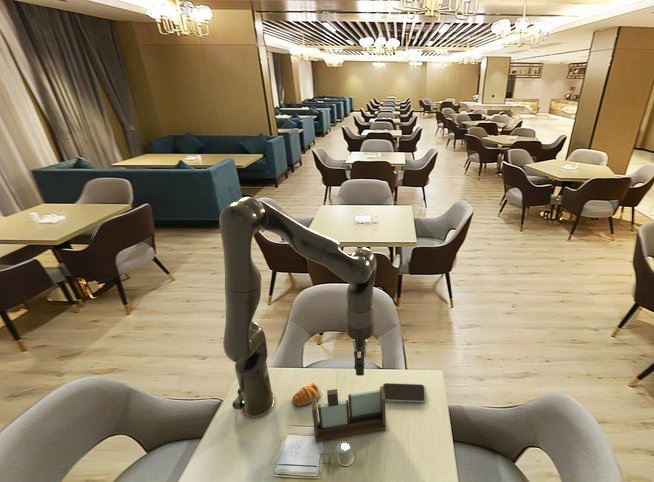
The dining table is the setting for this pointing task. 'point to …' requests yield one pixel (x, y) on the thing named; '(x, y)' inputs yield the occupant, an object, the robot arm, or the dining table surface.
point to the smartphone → (404, 392)
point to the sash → (333, 411)
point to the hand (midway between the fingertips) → (360, 363)
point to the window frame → (356, 416)
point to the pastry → (306, 395)
